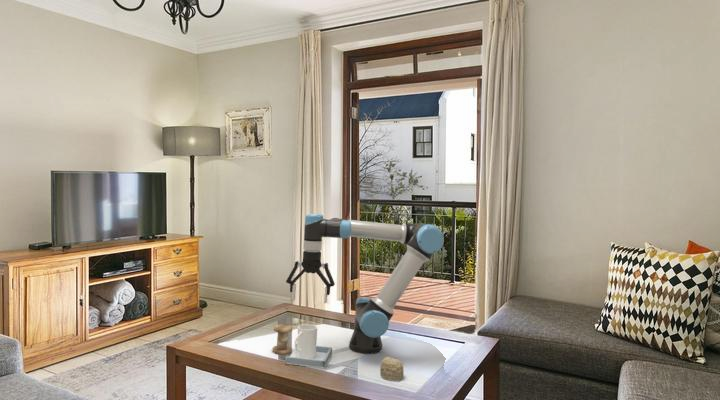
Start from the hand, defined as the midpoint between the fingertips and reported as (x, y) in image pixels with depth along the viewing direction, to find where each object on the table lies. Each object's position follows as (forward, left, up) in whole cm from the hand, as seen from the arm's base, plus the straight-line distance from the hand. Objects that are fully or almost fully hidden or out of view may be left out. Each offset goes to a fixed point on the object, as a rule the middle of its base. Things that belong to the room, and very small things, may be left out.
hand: (309, 301), depth 188 cm
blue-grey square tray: (-1, +2, -24) cm, 24 cm away
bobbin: (+12, -4, -24) cm, 27 cm away
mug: (+1, +2, -23) cm, 23 cm away
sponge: (-36, +10, -24) cm, 45 cm away
